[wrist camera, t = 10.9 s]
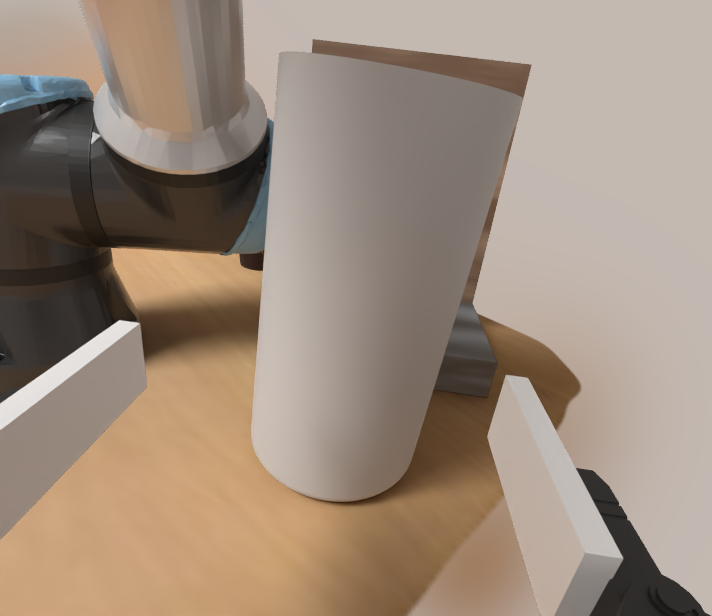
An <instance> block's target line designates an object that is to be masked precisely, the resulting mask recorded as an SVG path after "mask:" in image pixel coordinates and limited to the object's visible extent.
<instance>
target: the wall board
mask: <svg viewBox="0 0 712 616" xmlns="http://www.w3.org/2000/svg"><path fill="white" fill-rule="evenodd" d="M312 53H316V54H325V55H333V56H340V57H347V58H354V59H360V60H367V61H373V62H379V63H384V64H390V65H396V66H401V67H406V68H412V69H417V70H422V71H427V72H432V73H436V74H441V75H446V76H450V77H455V78H459V79H463V80H468V81H472V82H476V83H480V84H484V85H488V86H491V87H495V88H498V89H502V90H505V91H508V92H511V93H514V94H516V95H518V96H520V97H522V98H523V97H524V93H525V89H526V85H527V81H528V77H529V72H530V69H531V65H529V64H520V63H511V62H503V61H495V60H494V61H493V60H486V59H477V58H469V57H460V56H452V55H443V54H435V53H426V52H417V51H408V50H400V49H391V48H383V47H374V46H366V45H357V44H349V43H339V42H331V41H323V40H314V39H313V45H312ZM522 101H523V100H522ZM521 105H522V103H521ZM520 109H521V107H520ZM519 113H520V110H519ZM519 113H518V116H517V120H516V123H515V126H514V129H513V133H512V136H511V139H510V142H509V146H508V149H507V152H506V155H505V159H504V162H503V165H502V168H501V172H500V175H499V178H498V181H497V185H496V188H495V191H494V194H493V198H492V201H491V204H490V207H489V211H488V214H487V217H486V220H485V224H484V227H483V230H482V233H481V237H480V240H479V243H478V246H477V250H476V253H475V256H474V259H473V263H472V266H471V269H470V272H469V276H468V279H467V282H466V285H465V289H464V292H463V295H462V298H461V302H460V305H459V308H458V311H457V315H456V318H455V321H454V324H453V328H452V331H451V334H450V337H449V341H448V344H447V347H446V350H445V354H444V357H443V360H442V363H441V367H440V370H439V373H438V376H437V380H436V383H435V386H434V389H433V390H440V391H447V392H453V393H460V394H467V395H474V396H481V397H488V394H489V390H490V387H491V383H492V380H493V377H494V373H495V370H496V366H497V363H498V362H497V360H496V357H495V355H494V353H493V350H492V348H491V346H490V343H489V341H488V339H487V336H486V334H485V332H484V329H483V327H482V325H481V322H480V320H479V318H478V315H477V313H476V311H475V309H474V306H473V304H472V302H473V298H474V294H475V290H476V286H477V282H478V278H479V274H480V270H481V266H482V262H483V258H484V254H485V250H486V246H487V242H488V238H489V234H490V230H491V226H492V222H493V218H494V213H495V210H496V206H497V202H498V198H499V194H500V189H501V185H502V181H503V177H504V174H505V169H506V165H507V161H508V157H509V153H510V149H511V145H512V141H513V137H514V133H515V129H516V125H517V121H518V117H519Z"/></svg>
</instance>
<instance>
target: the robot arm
mask: <svg viewBox="0 0 712 616" xmlns="http://www.w3.org/2000/svg"><path fill="white" fill-rule="evenodd" d="M78 2H79V5H80V8H81V11H82V13H83V16H84V19H85V22H86V25H87V28H88V30H89V33H90V36H91V39H92V42H93V45H94V48H95V50H96V53H97V56H98V59H99V62H100V65H101V67H102V70H103V73H104V76H105V79H106V81H105V83H104V84H103V85H102V86H101V88H100V89H99V91H98V93H97V95H96V97H95V100H94V101H93V99H94V98H93V93H92V92H91V91H90V89H89V86H88V85H87V83H86V82H85V81H83V80H81V79H76V78H68V77H56V76H24V75H23V76H22V75H4V74H3V75H0V393H2V394H0V540H1V539H2V538H3V537H4V536H5V535H6V534H7V533H8V532H9V531H10V530H11V529H12V527H13V526H14V525H15V524H16V523H17V522H18V521H19V520H20V519H21V518H22V517H23V516H24V515H25V514H26V513H27V512H28V511H29V510H30V509H31V508H32V507H33V506H34V505H35V503H36V502H37V501H38V500H39V499H40V498H41V497H42V496H43V495H44V494H45V493H46V492H47V491H48V490H49V489H50V488H51V487H52V486H53V485H54V484H55V483H56V482H57V481H58V479H59V478H60V477H61V476H62V475H63V474H64V473H65V472H66V471H67V470H68V469H69V468H70V467H71V466H72V465H73V464H74V463H75V462H76V461H77V460H78V459H79V458H80V456H81V455H82V454H83V453H84V452H85V451H86V450H87V449H88V448H89V447H90V446H91V445H92V444H93V443H94V442H95V441H96V440H97V439H98V438H99V437H100V436H101V435H102V434H103V432H104V431H105V430H106V429H107V428H108V427H109V426H110V425H111V424H112V423H113V422H114V421H115V420H116V419H117V418H118V417H119V416H120V415H121V414H122V413H123V412H124V411H125V410H126V408H127V407H128V406H129V405H130V404H131V403H132V402H133V401H134V400H135V399H136V398H137V397H138V396H139V395H140V394H141V393H142V392H143V391H144V390H145V389H146V388H147V380H146V371H145V362H144V353H143V344H142V329H141V321H140V316H139V313H138V311H137V309H136V308H135V306H134V304H133V302H132V300H131V298H130V296H129V294H128V293H127V291H126V289H125V287H124V285H123V283H122V281H121V279H120V278H119V276H118V274H117V272H116V270H115V268H114V265H113V259H112V252H111V248H130V249H149V250H164V251H180V252H195V253H211V254H220V255H225V256H227V255H231V254H252V253H258V252H260V251H262V250H264V249H265V237H266V223H267V210H268V197H269V183H270V170H271V157H272V143H273V130H274V122H273V121H271V120H270V119H269V118H267V113H266V109H265V106H264V103H263V100H262V99H261V97H260V95H259V94H258V93H257V91H256V90H255V89H254V88H253V86H252V85H250V84H249V83H248V82H247V81H246V80H245V65H244V37H243V8H242V0H78ZM487 438H488V441H489V445H490V448H491V452H492V455H493V458H494V462H495V465H496V468H497V472H498V475H499V479H500V482H501V485H502V489H503V492H504V495H505V499H506V502H507V505H508V508H509V512H510V515H511V519H512V522H513V526H514V529H515V533H516V536H517V539H518V543H519V546H520V549H521V553H522V556H523V559H524V563H525V566H526V570H527V573H528V576H529V580H530V583H531V586H532V590H533V593H534V597H535V600H536V604H537V607H538V610H539V614H540V616H710V615H708V614H706V613H705V612H704V611H703V609H702V607H701V605H700V604H699V603H698V602H697V601H696V600H695V599H694V597H693V596H692V595H691V594H690V593H689V592H688V591H687V590H685V589H684V588H683V587H681V586H680V585H679V584H678V583H676V582H675V581H673V580H671V579H669V578H667V577H665V576H663V575H662V574H661V573H660V571H659V569H658V568H657V566H656V564H655V563H654V561H653V559H652V558H651V556H650V554H649V553H648V551H647V549H646V548H645V546H644V544H643V542H642V541H641V539H640V537H639V536H638V534H637V532H636V531H635V529H634V527H633V526H632V524H631V522H630V521H628V520H627V516H626V514H625V513H624V510H623V509H622V507H621V506H619V502H618V500H617V499H616V497H615V495H614V494H613V492H612V490H611V489H610V487H609V486H608V485H607V484H606V483H605V482H604V481H603V480H602V479H601V478H600V477H599V476H598V475H597V474H596V473H595V472H594V471H592V470H585V469H578V468H575V466H574V464H573V462H572V460H571V458H570V456H569V455H568V453H567V451H566V449H565V447H564V445H563V443H562V441H561V440H560V438H559V436H558V434H557V432H556V430H555V428H554V426H553V424H552V422H551V420H550V419H549V417H548V415H547V413H546V411H545V409H544V407H543V405H542V403H541V402H540V400H539V398H538V396H537V394H536V392H535V390H534V388H533V386H532V385H531V383H530V381H529V379H528V378H525V377H518V376H511V375H506V376H505V379H504V383H503V386H502V389H501V393H500V396H499V399H498V402H497V406H496V409H495V412H494V416H493V419H492V422H491V425H490V429H489V432H488V435H487Z"/></svg>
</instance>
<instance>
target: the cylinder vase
mask: <svg viewBox="0 0 712 616" xmlns="http://www.w3.org/2000/svg"><path fill="white" fill-rule="evenodd" d="M522 100H523V98H522V97H520V96H518V95H516V94H514V93H511V92H508V91H505V90H502V89H498V88H495V87H491V86H488V85H484V84H480V83H476V82H472V81H468V80H463V79H459V78H455V77H450V76H446V75H441V74H436V73H432V72H427V71H422V70H417V69H412V68H406V67H401V66H396V65H390V64H384V63H379V62H373V61H367V60H360V59H354V58H347V57H340V56H333V55H325V54H316V53H306V52H281V53H279V63H278V77H277V90H276V103H275V118H274V130H273V143H272V157H271V170H270V183H269V197H268V210H267V223H266V237H265V250H264V263H263V276H262V290H261V303H260V316H259V330H258V343H257V356H256V370H255V383H254V396H253V410H252V423H251V439H252V444H253V448H254V450H255V453H256V455H257V457H258V459H259V461H260V462H261V464H262V465H263V466H264V468H265V469H266V470H267V471H268V472H269V473H270V474H271V475H272V476H273V477H274V478H275V479H276V480H277V481H279V482H280V483H282V484H283V485H285V486H286V487H288V488H290V489H291V490H293V491H295V492H298V493H300V494H302V495H305V496H308V497H311V498H315V499H320V500H325V501H335V502H347V501H356V500H362V499H366V498H369V497H372V496H375V495H378V494H380V493H382V492H384V491H385V490H387V489H389V488H390V487H392V486H393V485H394V484H395V483H397V482H398V481H399V480H400V479H401V477H402V476H403V475H404V474H405V472H406V471H407V469H408V467H409V465H410V463H411V461H412V458H413V454H414V451H415V448H416V445H417V441H418V438H419V435H420V432H421V428H422V425H423V422H424V419H425V415H426V412H427V409H428V406H429V402H430V399H431V396H432V393H433V389H434V386H435V383H436V380H437V376H438V373H439V370H440V367H441V363H442V360H443V357H444V354H445V350H446V347H447V344H448V341H449V337H450V334H451V331H452V328H453V324H454V321H455V318H456V315H457V311H458V308H459V305H460V302H461V298H462V295H463V292H464V289H465V285H466V282H467V279H468V276H469V272H470V269H471V266H472V263H473V259H474V256H475V253H476V250H477V246H478V243H479V240H480V237H481V233H482V230H483V227H484V224H485V220H486V217H487V214H488V211H489V207H490V204H491V201H492V198H493V194H494V191H495V188H496V185H497V181H498V178H499V175H500V172H501V168H502V165H503V162H504V159H505V155H506V152H507V149H508V146H509V142H510V139H511V136H512V133H513V129H514V126H515V123H516V120H517V116H518V113H519V110H520V107H521V103H522Z"/></svg>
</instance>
